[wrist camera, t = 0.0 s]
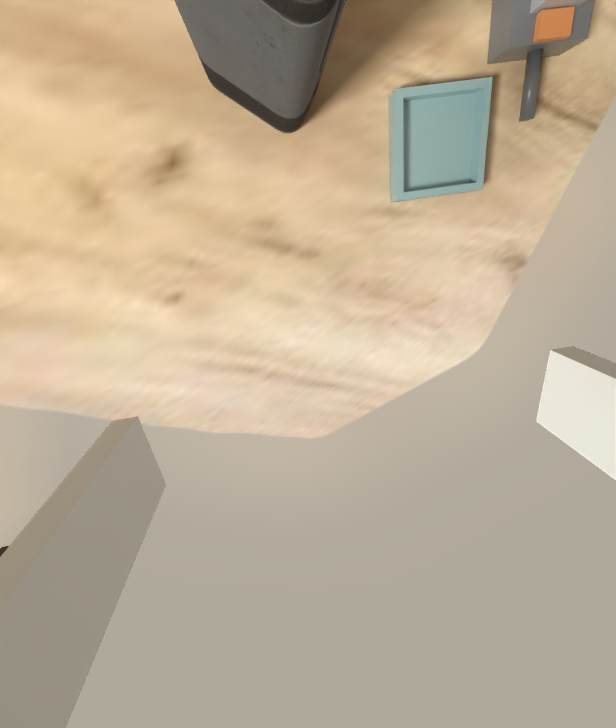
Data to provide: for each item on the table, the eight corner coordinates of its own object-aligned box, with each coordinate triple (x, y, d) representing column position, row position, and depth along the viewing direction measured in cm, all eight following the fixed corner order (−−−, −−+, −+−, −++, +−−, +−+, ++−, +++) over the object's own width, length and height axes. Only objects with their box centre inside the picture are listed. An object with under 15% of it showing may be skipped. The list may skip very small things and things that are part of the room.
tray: (388, 96, 30) (395, 88, 28) (480, 84, 30) (492, 76, 29) (390, 202, 34) (396, 201, 32) (472, 190, 34) (482, 189, 32)
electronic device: (324, 74, 29) (413, -190, 11) (294, 142, 31) (325, 18, 12) (227, 1, 26) (122, -514, 8) (200, 80, 28) (66, -192, 10)
